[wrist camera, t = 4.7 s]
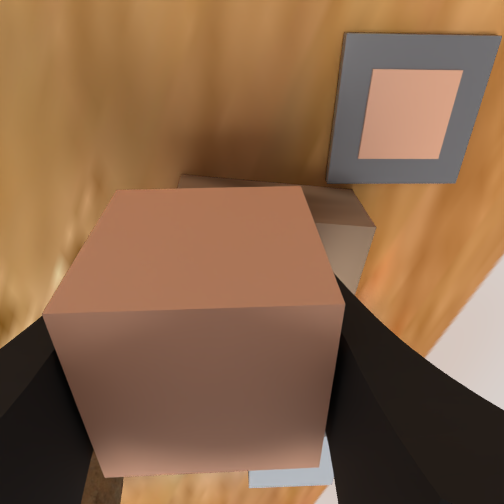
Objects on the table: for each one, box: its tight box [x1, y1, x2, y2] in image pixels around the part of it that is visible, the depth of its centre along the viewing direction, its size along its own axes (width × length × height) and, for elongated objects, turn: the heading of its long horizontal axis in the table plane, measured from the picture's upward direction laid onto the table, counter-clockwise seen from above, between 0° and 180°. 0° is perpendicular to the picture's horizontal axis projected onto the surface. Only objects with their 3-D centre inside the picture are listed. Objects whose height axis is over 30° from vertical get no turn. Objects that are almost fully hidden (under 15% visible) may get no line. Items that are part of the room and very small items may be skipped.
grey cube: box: [248, 432, 334, 488], centre depth 24 cm, size 5×5×5 cm
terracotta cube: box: [42, 186, 345, 478], centre depth 10 cm, size 5×5×5 cm
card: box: [326, 33, 502, 184], centre depth 17 cm, size 6×6×1 cm
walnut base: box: [177, 174, 376, 295], centre depth 19 cm, size 8×8×4 cm
